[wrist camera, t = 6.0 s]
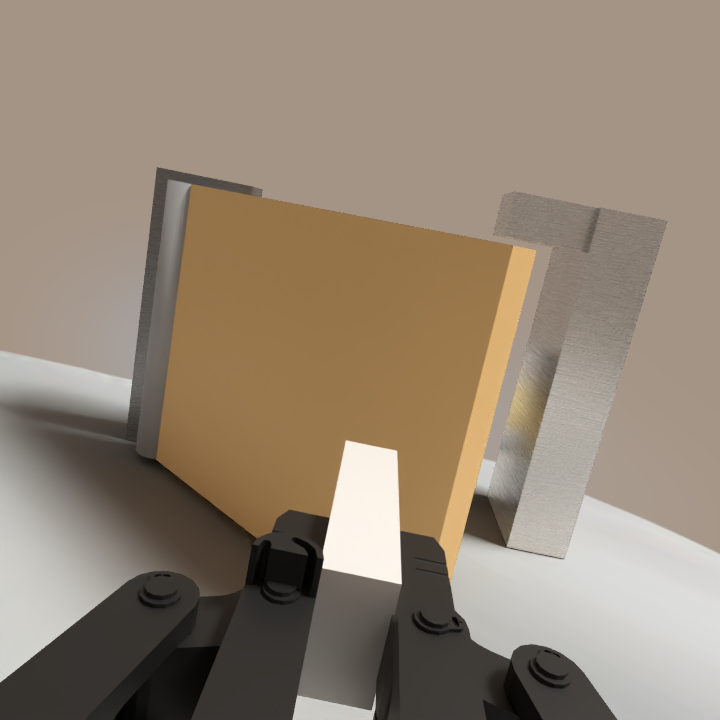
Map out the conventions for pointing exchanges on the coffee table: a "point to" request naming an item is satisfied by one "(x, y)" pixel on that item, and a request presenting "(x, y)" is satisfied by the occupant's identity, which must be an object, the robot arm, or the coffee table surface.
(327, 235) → the orange wooden board
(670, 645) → the coffee table surface
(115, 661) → the robot arm
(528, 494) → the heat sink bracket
